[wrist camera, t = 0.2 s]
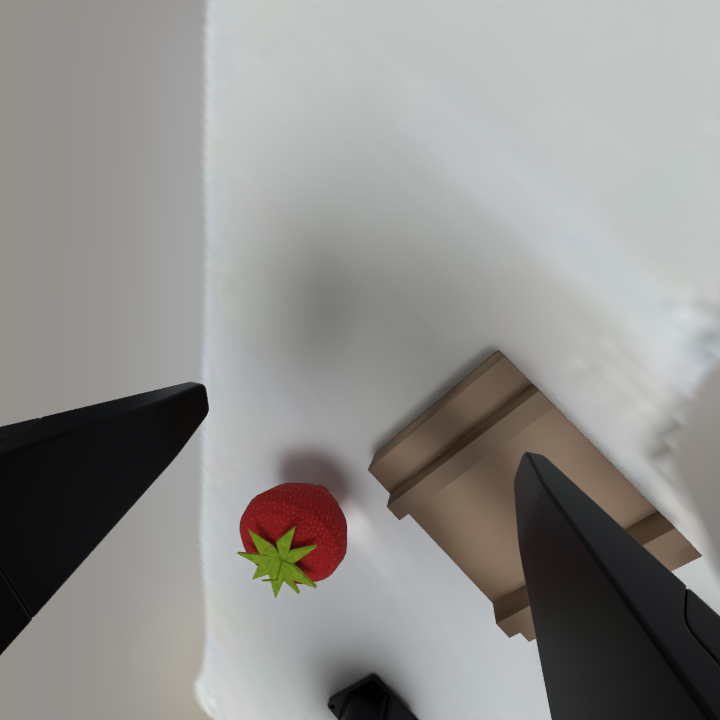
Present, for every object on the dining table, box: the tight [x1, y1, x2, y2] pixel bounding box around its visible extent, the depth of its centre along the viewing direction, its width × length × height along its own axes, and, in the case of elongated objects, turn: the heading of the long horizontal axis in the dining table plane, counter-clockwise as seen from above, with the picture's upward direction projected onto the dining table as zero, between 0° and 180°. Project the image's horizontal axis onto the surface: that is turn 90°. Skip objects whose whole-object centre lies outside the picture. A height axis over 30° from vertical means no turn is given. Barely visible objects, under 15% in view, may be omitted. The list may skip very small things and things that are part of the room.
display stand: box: [368, 350, 702, 641], centre depth 21 cm, size 12×16×4 cm
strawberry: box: [237, 483, 347, 598], centre depth 22 cm, size 6×8×10 cm
